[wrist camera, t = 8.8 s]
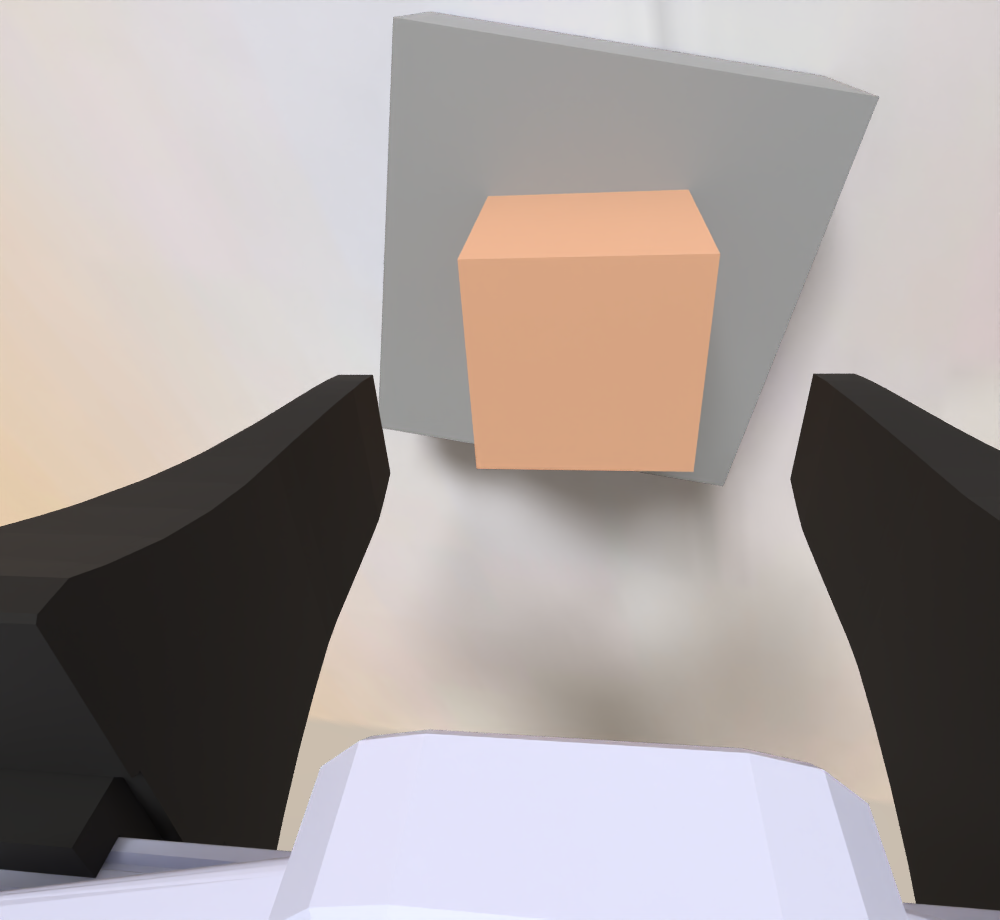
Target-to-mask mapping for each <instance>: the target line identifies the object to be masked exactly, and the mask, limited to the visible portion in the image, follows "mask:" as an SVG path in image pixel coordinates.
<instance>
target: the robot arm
mask: <svg viewBox="0 0 1000 920" xmlns="http://www.w3.org/2000/svg"><path fill="white" fill-rule="evenodd" d="M389 477H390V468H389V463H388V457H387V452H386V446H385V440H384V435H383V429H382V424H381V418H380V412H379V407H378V401H377V396H376V390H375V384H374V379H373V375H337V376H335V377H333V378H330V379H328V380H327V381H325V382H323V383H321V384H319V385H318V386H316V387H314V388H312V389H311V390H309V391H307V392H306V393H304V394H302V395H301V396H299V397H298V398H296V399H294V400H293V401H291V402H289V403H288V404H286V405H285V406H283V407H281V408H280V409H278V410H276V411H275V412H273V413H272V414H270V415H268V416H267V417H265V418H263V419H262V420H260V421H258V422H257V423H255V424H253V425H252V426H250V427H248V428H246V429H244V430H243V431H241V432H239V433H237V434H235V435H234V436H232V437H230V438H228V439H227V440H225V441H223V442H221V443H219V444H218V445H216V446H214V447H212V448H210V449H209V450H207V451H205V452H203V453H201V454H199V455H197V456H195V457H193V458H191V459H189V460H187V461H185V462H182V463H180V464H178V465H176V466H174V467H171V468H169V469H167V470H165V471H162V472H160V473H158V474H156V475H153V476H151V477H149V478H146V479H144V480H142V481H139V482H136V483H134V484H131V485H128V486H126V487H123V488H120V489H117V490H115V491H112V492H109V493H107V494H104V495H101V496H98V497H96V498H93V499H90V500H87V501H85V502H82V503H79V504H76V505H73V506H70V507H67V508H63V509H60V510H57V511H54V512H50V513H47V514H44V515H41V516H37V517H34V518H30V519H26V520H23V521H19V522H16V523H12V524H8V525H5V526H1V527H0V920H1000V450H998V449H996V448H994V447H992V446H989V445H987V444H985V443H983V442H982V441H980V440H978V439H976V438H974V437H972V436H970V435H968V434H966V433H964V432H963V431H961V430H959V429H957V428H955V427H953V426H952V425H950V424H948V423H946V422H944V421H943V420H941V419H939V418H937V417H935V416H934V415H932V414H930V413H928V412H926V411H925V410H923V409H921V408H919V407H918V406H916V405H914V404H912V403H911V402H909V401H907V400H905V399H904V398H902V397H900V396H898V395H896V394H895V393H893V392H891V391H889V390H887V389H886V388H884V387H882V386H880V385H878V384H876V383H874V382H872V381H870V380H868V379H866V378H864V377H861V376H859V375H856V374H813V378H812V383H811V387H810V392H809V396H808V401H807V406H806V410H805V415H804V419H803V424H802V428H801V433H800V437H799V442H798V447H797V451H796V456H795V460H794V465H793V469H792V474H791V479H790V480H791V484H792V489H793V493H794V498H795V502H796V507H797V511H798V515H799V518H800V522H801V526H802V530H803V532H804V535H805V537H806V540H807V542H808V545H809V547H810V550H811V552H812V555H813V557H814V560H815V562H816V564H817V567H818V569H819V572H820V574H821V576H822V579H823V581H824V584H825V586H826V588H827V591H828V593H829V595H830V598H831V600H832V603H833V605H834V607H835V610H836V612H837V614H838V617H839V619H840V621H841V624H842V626H843V629H844V631H845V633H846V636H847V638H848V640H849V643H850V646H851V649H852V651H853V654H854V657H855V660H856V662H857V665H858V668H859V671H860V675H861V678H862V682H863V685H864V689H865V692H866V696H867V699H868V703H869V707H870V710H871V714H872V717H873V721H874V724H875V728H876V732H877V736H878V740H879V743H880V747H881V751H882V755H883V759H884V763H885V767H886V771H887V775H888V778H889V782H890V786H891V790H892V795H893V799H894V804H895V808H896V812H897V816H898V821H899V826H900V830H901V834H902V839H903V843H904V848H905V852H906V856H907V861H908V865H909V870H910V876H911V880H912V886H913V891H914V896H915V901H916V904H914V903H902V900H901V897H900V894H899V892H898V888H897V885H896V883H895V880H894V877H893V874H892V871H891V868H890V865H889V862H888V859H887V856H886V853H885V850H884V848H883V845H882V842H881V839H880V836H879V833H878V830H877V827H876V824H875V821H874V818H873V815H872V812H871V810H870V807H869V804H868V803H867V802H865V801H864V800H863V799H861V798H860V797H859V796H858V795H856V794H855V793H854V792H852V791H851V790H850V789H848V788H847V787H846V786H844V785H843V784H842V783H840V782H839V781H838V780H836V779H835V778H834V777H833V776H831V775H830V774H829V773H827V772H826V771H825V770H823V769H821V768H819V767H817V766H815V765H813V764H810V763H807V762H803V761H798V760H794V759H789V758H785V757H780V756H776V755H771V754H767V753H762V752H758V751H753V750H749V749H744V748H728V747H711V746H695V745H678V744H661V743H645V742H628V741H611V740H595V739H578V738H561V737H545V736H528V735H511V734H495V733H478V732H462V731H445V730H421V731H412V732H403V733H394V734H385V735H376V736H370V737H368V738H366V739H362V740H360V741H358V742H357V743H355V744H354V745H352V746H351V747H349V748H348V749H346V750H345V751H343V752H342V753H340V754H339V755H338V756H336V757H335V758H333V759H332V760H330V761H329V762H327V763H326V764H324V765H323V766H321V768H320V771H319V774H318V777H317V780H316V782H315V785H314V788H313V791H312V794H311V797H310V800H309V803H308V806H307V809H306V811H305V814H304V817H303V820H302V823H301V826H300V829H299V832H298V835H297V838H296V840H295V843H294V846H293V849H292V851H279V850H277V845H278V841H279V836H280V830H281V826H282V822H283V817H284V812H285V808H286V804H287V799H288V795H289V791H290V787H291V782H292V778H293V774H294V770H295V765H296V761H297V757H298V753H299V748H300V745H301V741H302V737H303V733H304V729H305V726H306V722H307V718H308V714H309V710H310V707H311V703H312V699H313V695H314V692H315V688H316V685H317V681H318V678H319V674H320V671H321V667H322V664H323V661H324V657H325V654H326V650H327V647H328V644H329V641H330V638H331V635H332V632H333V630H334V627H335V624H336V621H337V619H338V617H339V614H340V612H341V609H342V607H343V605H344V602H345V600H346V598H347V595H348V593H349V590H350V588H351V586H352V583H353V581H354V579H355V576H356V574H357V572H358V569H359V567H360V564H361V562H362V560H363V557H364V555H365V553H366V550H367V548H368V545H369V543H370V540H371V538H372V536H373V533H374V531H375V528H376V526H377V523H378V520H379V517H380V513H381V510H382V506H383V502H384V498H385V494H386V490H387V485H388V481H389Z"/></svg>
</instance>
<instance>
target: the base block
mask: <svg viewBox="0 0 1000 920" xmlns="http://www.w3.org/2000/svg"><path fill="white" fill-rule="evenodd" d="M878 99H879V97H878V96H876V95H873V94H870V93H868V92H865V91H862V90H860V89H857V88H854V87H852V86H849V85H846V84H844V83H841V82H839V81H836V80H833V79H831V78H828V77H825V76H821V75H815V74H809V73H802V72H796V71H790V70H784V69H778V68H772V67H766V66H760V65H754V64H747V63H741V62H735V61H729V60H723V59H717V58H711V57H705V56H699V55H692V54H686V53H680V52H674V51H668V50H662V49H656V48H650V47H644V46H637V45H631V44H625V43H619V42H613V41H607V40H601V39H595V38H589V37H582V36H576V35H570V34H564V33H558V32H552V31H546V30H540V29H534V28H527V27H521V26H515V25H509V24H503V23H497V22H491V21H485V20H479V19H472V18H466V17H460V16H454V15H448V14H442V13H436V12H424V13H418V14H411V15H405V16H398V17H393V37H392V64H391V90H390V117H389V144H388V171H387V198H386V225H385V252H384V279H383V306H382V333H381V360H380V387H379V412H380V418H381V424H382V428H384V429H390V430H396V431H402V432H408V433H414V434H420V435H425V436H431V437H437V438H443V439H449V440H455V441H461V442H466V443H472V444H474V434H473V424H472V413H471V402H470V391H469V380H468V369H467V358H466V347H465V337H464V326H463V315H462V304H461V293H460V282H459V271H458V261H457V259H458V257H459V255H460V253H461V251H462V249H463V247H464V245H465V243H466V241H467V239H468V237H469V234H470V232H471V230H472V228H473V226H474V224H475V222H476V220H477V218H478V216H479V214H480V212H481V210H482V208H483V205H484V203H485V201H486V199H487V197H488V196H510V195H540V194H570V193H600V192H630V191H660V190H689V191H690V193H691V195H692V197H693V199H694V202H695V204H696V206H697V208H698V210H699V212H700V214H701V216H702V218H703V220H704V222H705V224H706V226H707V228H708V230H709V232H710V234H711V236H712V238H713V240H714V242H715V244H716V246H717V248H718V250H719V252H720V260H719V268H718V276H717V284H716V292H715V300H714V309H713V317H712V325H711V333H710V341H709V350H708V358H707V366H706V374H705V382H704V390H703V399H702V407H701V415H700V423H699V431H698V440H697V448H696V456H695V464H694V472H676V471H636V472H642V473H648V474H654V475H660V476H665V477H671V478H677V479H683V480H689V481H695V482H701V483H706V484H712V485H718V486H723V485H724V483H725V480H726V478H727V475H728V473H729V470H730V468H731V465H732V463H733V460H734V458H735V455H736V453H737V450H738V448H739V445H740V443H741V440H742V438H743V435H744V433H745V430H746V428H747V425H748V423H749V420H750V418H751V415H752V413H753V410H754V408H755V405H756V403H757V400H758V398H759V395H760V393H761V390H762V388H763V385H764V383H765V380H766V378H767V375H768V373H769V370H770V368H771V365H772V363H773V360H774V358H775V356H776V353H777V351H778V348H779V346H780V343H781V341H782V338H783V336H784V333H785V331H786V328H787V326H788V323H789V321H790V318H791V316H792V313H793V311H794V308H795V306H796V303H797V301H798V298H799V296H800V293H801V291H802V288H803V286H804V283H805V281H806V278H807V276H808V273H809V271H810V268H811V266H812V263H813V261H814V258H815V256H816V253H817V251H818V248H819V246H820V243H821V241H822V238H823V236H824V233H825V231H826V228H827V226H828V223H829V221H830V218H831V216H832V213H833V211H834V208H835V206H836V203H837V201H838V198H839V196H840V194H841V191H842V189H843V186H844V184H845V181H846V179H847V176H848V174H849V171H850V169H851V166H852V164H853V161H854V159H855V156H856V154H857V151H858V149H859V146H860V144H861V141H862V139H863V136H864V134H865V131H866V129H867V126H868V124H869V121H870V119H871V116H872V114H873V111H874V109H875V106H876V104H877V101H878Z"/></svg>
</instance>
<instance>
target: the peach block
mask: <svg viewBox="0 0 1000 920" xmlns="http://www.w3.org/2000/svg"><path fill="white" fill-rule="evenodd" d="M719 260H720V252H719V250H718V248H717V246H716V244H715V242H714V240H713V238H712V236H711V234H710V232H709V230H708V228H707V226H706V224H705V222H704V220H703V218H702V216H701V214H700V212H699V210H698V208H697V206H696V204H695V202H694V199H693V197H692V195H691V193H690V191H689V190H660V191H630V192H600V193H570V194H540V195H510V196H488V197H487V199H486V201H485V203H484V205H483V208H482V210H481V212H480V214H479V216H478V218H477V220H476V222H475V224H474V226H473V228H472V230H471V232H470V234H469V237H468V239H467V241H466V243H465V245H464V247H463V249H462V251H461V253H460V255H459V257H458V259H457V261H458V271H459V282H460V293H461V304H462V315H463V326H464V337H465V347H466V358H467V369H468V380H469V391H470V402H471V413H472V424H473V434H474V445H475V456H476V467H477V469H535V470H605V471H676V472H694V464H695V456H696V448H697V440H698V431H699V423H700V415H701V407H702V399H703V390H704V382H705V374H706V366H707V358H708V350H709V341H710V333H711V325H712V317H713V309H714V300H715V292H716V284H717V276H718V268H719Z"/></svg>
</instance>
